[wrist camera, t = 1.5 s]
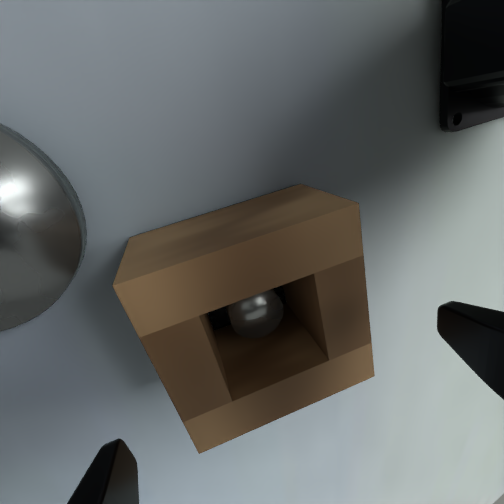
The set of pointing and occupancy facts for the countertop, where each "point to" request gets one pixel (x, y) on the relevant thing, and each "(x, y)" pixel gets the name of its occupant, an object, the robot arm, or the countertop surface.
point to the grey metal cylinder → (256, 314)
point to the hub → (35, 230)
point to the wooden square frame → (244, 286)
